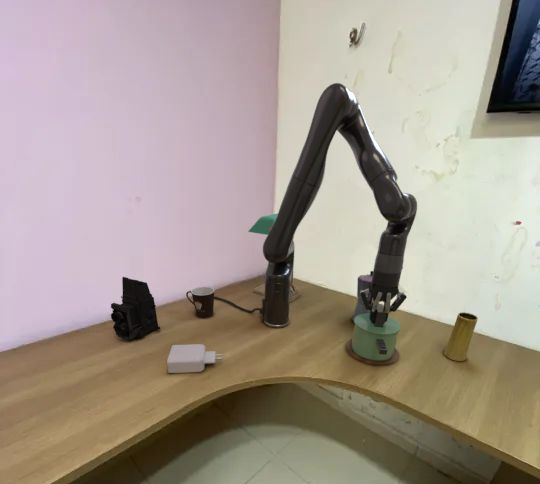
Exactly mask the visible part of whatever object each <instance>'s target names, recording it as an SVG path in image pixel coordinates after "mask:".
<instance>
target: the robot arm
mask: <svg viewBox="0 0 540 484" xmlns="http://www.w3.org/2000/svg"><path fill="white" fill-rule="evenodd" d="M337 132H338V133H339V134H340V136H342V138H343V139H344V140H345V141H346V142H347V144H348V146H349V148H350V150H351V151H352V154H353V156H354V159H355V162H356V165H357V167H358V169H359V171H360V173H361V175H362V177H363V178H364V180H365V182H366V183H367V185H368V187H369V189H370V190H371V191H372V194H373V198H374V200H375V204H376V206H377V209H378V211H379V213H380V215H381V216H382V218H384V220H386V221H387V224H386V227H385V229H384V230H383V231H382V232H381V234H380V237H379V240H378V241H379V242H378V247H377V252H376V255H375V260H374V265H373V270H372V271H373V276H372V281H371V285H370V286H369V288H368V289H366V290H360V294H361V297H362V299H363V302H364V305H365V308H366V309H367V310H370V315H369V319H370V321H371V323H374V321H375V316H376V308H377V306H378V304H380V302H383V307H384V309H385V311H386V316H385V321H384V323H385V322H387V319H388V316H389V314H390V313H393V312H396V311H397V310H398V309H399V308H400V307H401V305H402V304H403V303H404V302H405V301H406V299H407V295H406V293H405V292H403V291H400V289H399V286H400V280H401V275H402V272H403V269H404V262H405V261H404V260H405V253H406V248H407V243H408V237H409V235H410V232H411V230H412V227H413V225H414V222H415V219H416V216H417V211H418V201H417V199H416V197H415V196H414V195H413V194H411V193H408V192H403V191H402V190H401V188H400V186H399V184H398V174H397V172H396V170H395V169H394V167H393V165H392V164H391V161H389V159H388V157H387V156H386V154H385V152H384V151H383V149H382V148H381V147H380V144H379V143H378V142H377V140H376V139H375V137H374V135H373V134H372V132H371V130H370V128H369V126H368V123H367V121H366V118H365V116H364V113H363V111H362V108H361V105H360V103H359V100H358V97H357V96H356V94H355V93H354V92H353V91H352V90H350V89H349V88H348V87H347V86H345V85H344V84H342V83H340V82H335V83H331V84H330V85H328V86H327V87H326V88H325V89H324V90H323V92H322V93H321V94H320V96H319V98H318V101H317V103H316V107H315V109H314V113H313V116H312V119H311V123H310V126H309V130H308V133H307V136H306V139H305V141H304V143H303V147H302V149H301V152H300V155H299V156H298V160H297V161H296V165H295V167H294V169H293V171H292V174H291V176H290V178H289V182H288V184H287V186H286V188H285V189H286V191H285V192H284V195H283V198H282V201H281V204H280V206H279V209H278V215H277V218H276V220H275V222H274V224H273V226H272V228H271V230H270V232H269V234H268V235H267V236H266V238H265V239H264V242H263V244H262V255H263V257H264V259H265V260H266V261H267V262H268V263H267V267H266V269H265V271H264V284H265V295H264V297H263V298H262V300H261V302H262V303H261V307H255V308H253V309H252V310H249V309H246V308H243V307H242V306H240V305H237V304H235V303H234V302H232V301H231V300H228V299H225V298H222V297H219V296H215V295H214V299H215V300H220V301H223V302H226V303H228V304H230V305H232V306H234V307H235V308H237V309H239V310H241V311H243V312H246V313H251V314H252V313H254V312H257V311H259V315H261V322H262V323H264V324H265V326H268V327H270V328H279V329H280V328H284V327H286V326H288V325H289V323H290V313H291V311H290V308H291V307H290V305H291V304H290V303H291V302H290V288H291V274H292V271H293V272H294V268H293V263H294V264H295V247H296V246H295V240H294V239H293V236H294V237H295V234H296V232H297V229H298V227H299V225H300V224H301V222H302V221H303V220H304V218H305V217H306V215H307V213H308V212H309V210H310V208H311V207H312V206H313V204H314V202H315V200H316V198H317V196H318V193H319V192H320V189H321V187H322V184H323V182H324V179H325V173H326V165H327V164H326V163H327V158H328V152H329V148H330V147H331V143H332V141H333V139H334V137H335V134H336V133H337ZM369 292H370V294H371V295H372V297H373V299H372V303H371V305H370V304H368V301H367V298H366V297H368V293H369ZM395 297H396V298H395ZM394 298H395V299H394ZM393 299H394V300H393ZM392 300H393V302H392V303H391V301H392Z"/></svg>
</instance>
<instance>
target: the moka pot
mask: <svg viewBox="0 0 540 484" xmlns="http://www.w3.org/2000/svg"><path fill="white" fill-rule="evenodd" d="M369 272H370V273H369V274H361V275H359V276H357V284H356V285H357V292H356V294H357V295H356V297H357V302H356V305H355V308H354V311H353V313H352V314H353V315H352V318H351V319H352V322H353V323H354V319H355V317H356V316H358V315H360V314H364V313H370V310H367V309H366V308H365V305H364V302H363V299H362V297H361V294H360V290H366V289H368V288H369V286H370V285H371V281H372V276H373V270H370V271H369ZM366 298H367V301H368V304H370V305H371V303H372V299H373V297H372V295H371V294H370V292H369V293H368V297H366Z"/></svg>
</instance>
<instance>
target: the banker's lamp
mask: <svg viewBox="0 0 540 484" xmlns="http://www.w3.org/2000/svg"><path fill="white" fill-rule="evenodd" d="M277 215H278V213H272V214H269V215H264V216H260V218H258V219H257V220H256V221H255V223H253V225H252V226H251V227H250V228H249V230H247V232H248V233H254V234H260V235H265V236H266V235H267V236H268V234H269V232H270V230H271V228H272V226H273V224H274V222H275V220H276V218H277ZM294 239H295V235H294V236H293V240H294ZM294 266H295V262H294V263H293V269H294ZM253 293H255V294H259V295H262V296H265V283H262V284H260V285H259V286H257V287H254V288H253ZM300 296H301V293H300V291H299V289H297V288H296V286H295V285H294V270H293V271H292V274H291V288H290V303H291V302H294V300H296V299H297V298H299V297H300Z"/></svg>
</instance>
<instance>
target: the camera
mask: <svg viewBox="0 0 540 484" xmlns="http://www.w3.org/2000/svg"><path fill="white" fill-rule="evenodd" d="M121 281H122V286H121V287H122V295H121V296H120V298H121V303H116V302H112V303H110V309H112V313H111V314H110V318H111V320H112V322H113V323H114V324H113V327H112V328H113V330H114V331H115V335H116V336H117V337H119V338H122V339H124V340H129V341H131V340H133V339H136V340H139V339H140V338H143V337H145V336H146V335H147V334H148V333H150V332H152V331H158V330H161V326H159V323H158V316H157V309H156V306H157V305H156V304H155V298H154V296H153V294H152V293H151V290H150V289H149V284H148V282H145V281H141V280H138V279H133V278H129V277H126V276H122V279H121Z"/></svg>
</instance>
